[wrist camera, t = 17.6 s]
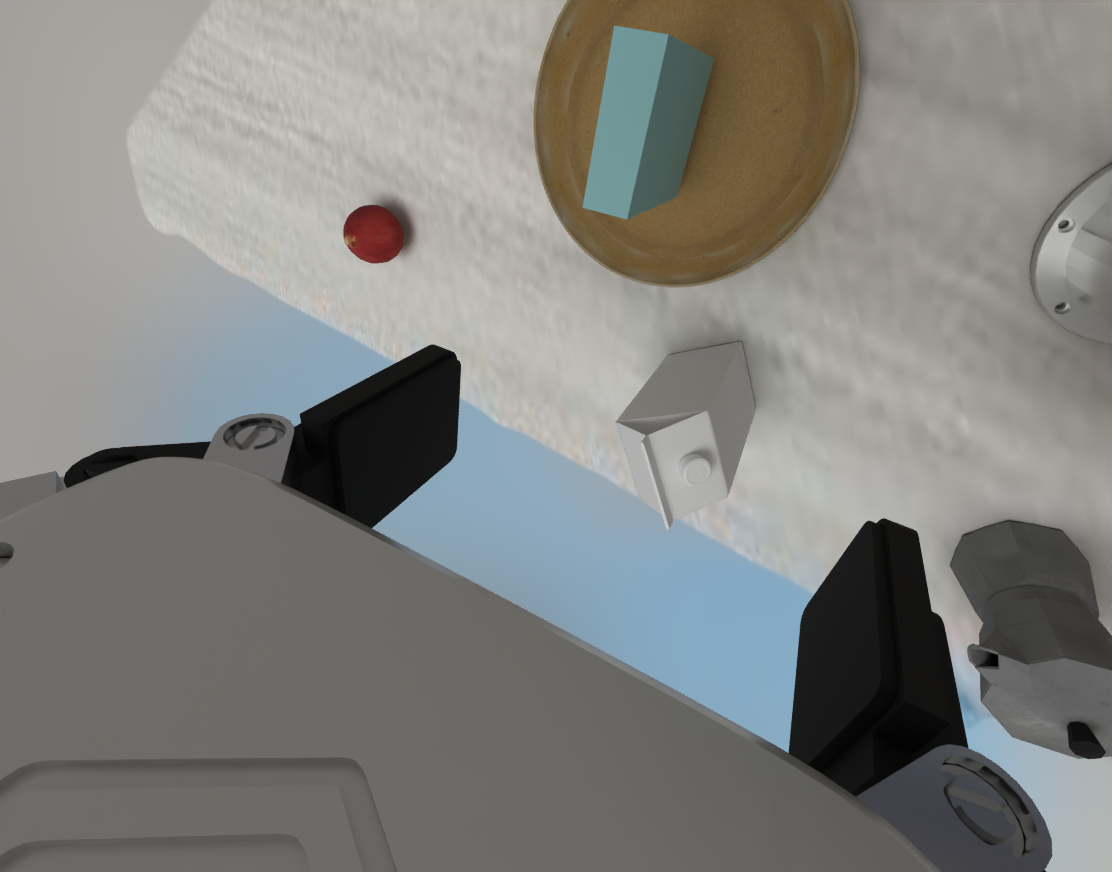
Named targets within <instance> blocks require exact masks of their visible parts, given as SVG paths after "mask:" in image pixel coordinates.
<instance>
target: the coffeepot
mask: <svg viewBox="0 0 1112 872" xmlns="http://www.w3.org/2000/svg"><path fill="white" fill-rule="evenodd" d="M950 567H951V569H952V570H953V572H954V574H955V576H956V578H957V579H958V581H959V583H960V585H961V587H962V589H963V590H964V592H965V594H966V596H967V598H968V599H969V601H970V603H971V605H972V607H973V608H974V610H975V612H976V613H977V615H978V616H979V618H980V619H981V620H982V622H983V623H984V624H983V626H982V628H981V631H980V633H979V645H975V644H971V645H970V646H968V649H967V650H968V658H969V661H970V662H971V663H972V664H973V665H974V666H975V668H976V669H977V670H978V671H979V672H980V690H981V702H982V703H983V705H984V706H985V707H986V708H987V709H988V710H989V711H990V712H991V714H992V715H993V716H994V717H995V718H996V719H997V720H998V722H999V723H1000V724H1001V725H1002V726H1003V727H1004V728H1005V729H1006V731H1007V732H1008V733H1009V734H1010V735H1011V736H1012V737H1014V738H1017V739H1020V740H1023V741H1026V742H1029V743H1032V744H1035V745H1038V746H1041V747H1044V748H1047V749H1050V750H1053V751H1056V752H1059V753H1062V754H1065V755H1069V756H1072V757H1075V758H1078V759H1079V758H1087V759H1096V758H1102V757H1108V756H1112V636H1111V634H1110V633H1109V632H1108V631H1107V629H1106V628H1105V627H1104V626H1103V625H1102V623H1101V622H1100V621H1099V620H1098V617H1099V610H1098V606H1097V601H1096V596H1095V591H1094V586H1093V581H1092V576H1091V571H1090V566H1089V562H1088V561H1087V560H1086V559H1085V557H1084V556H1083V555H1082V554H1081V553H1080V551H1079V550H1078V549H1077V547H1076V546H1075V545H1074V544H1073V543H1072V542H1071V541H1070V540H1069V538H1068V537H1067V536H1066V535H1065V534H1064V532H1063V531H1059V530H1055V529H1051V528H1048V527H1044V526H1040V525H1036V524H1030V523H1022V522H1011V521H1007V522H1002V523H998V524H993V525H989V526H986V527H983V528H980V529H978V530H976V531H974V532H972V533H971V534H968V535H965V536H963V537H962V539H961V541H960V543H959V545H958V546H957V548H956V550H955V554H954V557H953V560H952V562H951V564H950Z"/></svg>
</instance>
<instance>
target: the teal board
mask: <svg viewBox="0 0 1112 872" xmlns="http://www.w3.org/2000/svg"><path fill="white" fill-rule="evenodd" d="M713 62H714V58H713V57H711V56H709V55H707V54H705V53H703V52H701V51H699V50H697V49H696V48H694V47H692V46H690V45H688V44H686V43H684V42H682V41H680V40H678V39H677V38H675V37H673V36H671V35H669V34H663V33H657V32H651V31H645V30H638V29H632V28H626V27H620V26H614V30H613V36H612V42H611V47H610V53H609V59H608V65H607V70H606V76H605V82H604V88H603V93H602V99H601V105H600V110H599V116H598V122H597V128H596V133H595V139H594V145H593V151H592V156H591V162H590V168H589V173H588V179H587V185H586V191H585V196H584V202H583V208H586V209H590V210H593V211H597V212H601V213H605V214H608V215H612V216H616V217H619V218H623V219H629V218H632V217H634V216H636V215H638V214H640V213H643V212H645V211H647V210H649V209H651V208H654V207H656V206H658V205H660V204H662V203H664V202H667V201H669V200H671V199H673V198H675V197H677V195H678V191H679V187H680V184H681V180H682V176H683V173H684V169H685V165H686V161H687V158H688V154H689V150H690V147H691V143H692V139H693V136H694V132H695V128H696V125H697V121H698V117H699V114H700V110H701V106H702V103H703V99H704V95H705V92H706V88H707V84H708V81H709V77H710V73H711V70H712V66H713Z"/></svg>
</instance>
